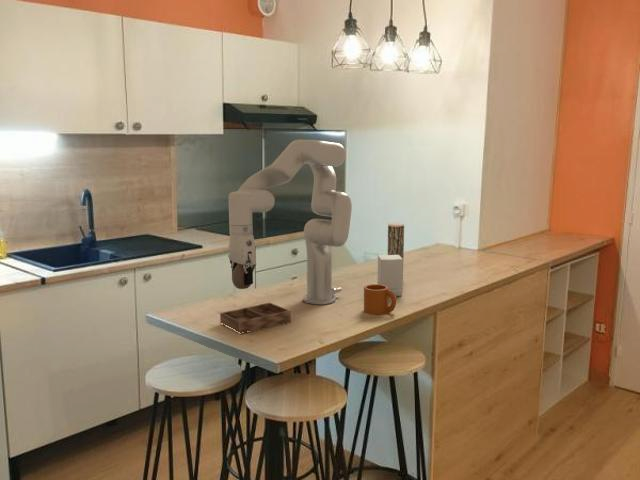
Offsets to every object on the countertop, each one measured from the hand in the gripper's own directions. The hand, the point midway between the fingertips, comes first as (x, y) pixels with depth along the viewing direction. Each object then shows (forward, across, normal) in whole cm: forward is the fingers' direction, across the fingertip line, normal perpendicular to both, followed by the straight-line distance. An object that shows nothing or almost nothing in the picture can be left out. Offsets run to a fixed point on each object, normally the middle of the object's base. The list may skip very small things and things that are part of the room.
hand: (242, 281), depth 203 cm
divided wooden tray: (+15, 0, -5) cm, 16 cm away
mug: (+16, -17, -47) cm, 52 cm away
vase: (+2, 0, 0) cm, 2 cm away
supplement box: (+16, -2, -67) cm, 69 cm away
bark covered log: (+16, +10, -82) cm, 84 cm away
